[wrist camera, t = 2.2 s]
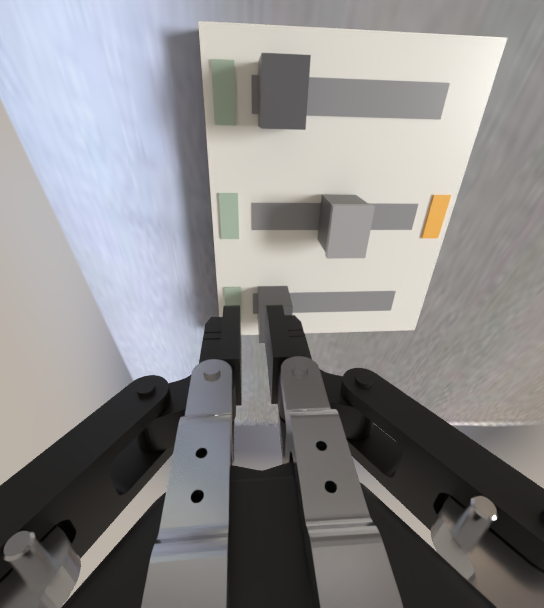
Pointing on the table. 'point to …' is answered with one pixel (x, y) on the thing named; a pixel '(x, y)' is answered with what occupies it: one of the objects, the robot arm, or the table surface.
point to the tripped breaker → (344, 226)
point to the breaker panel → (336, 163)
